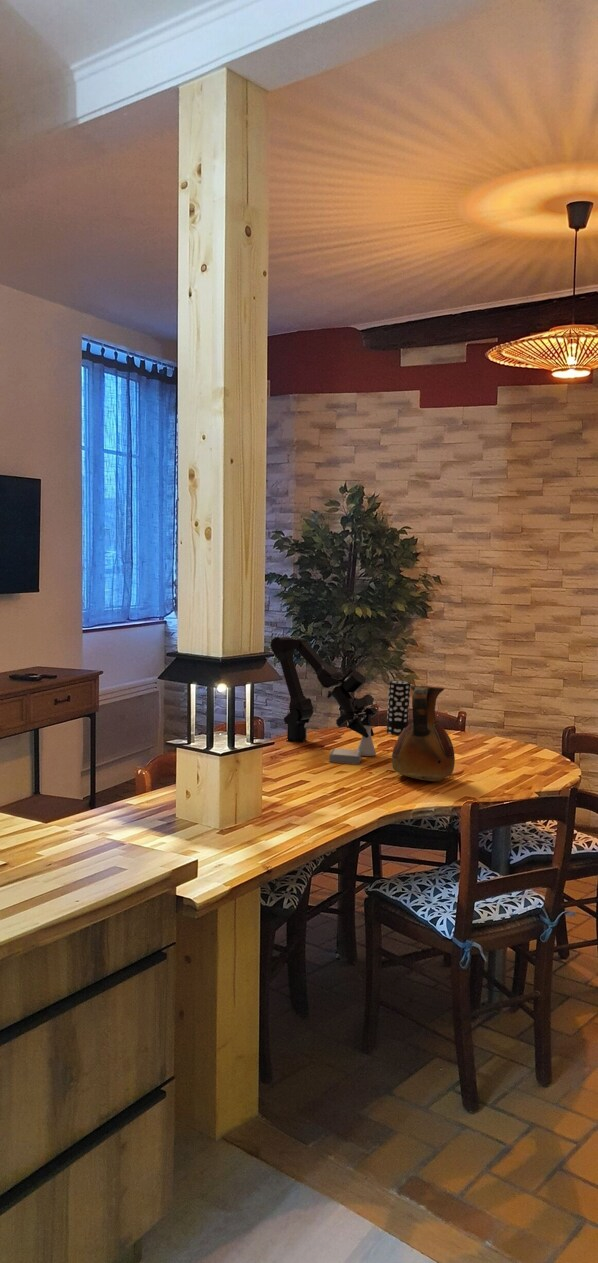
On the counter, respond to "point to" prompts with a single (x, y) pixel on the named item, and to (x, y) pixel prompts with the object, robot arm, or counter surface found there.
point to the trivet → (346, 756)
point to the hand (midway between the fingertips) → (370, 736)
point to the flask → (367, 744)
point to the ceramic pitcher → (424, 741)
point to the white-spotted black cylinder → (398, 706)
